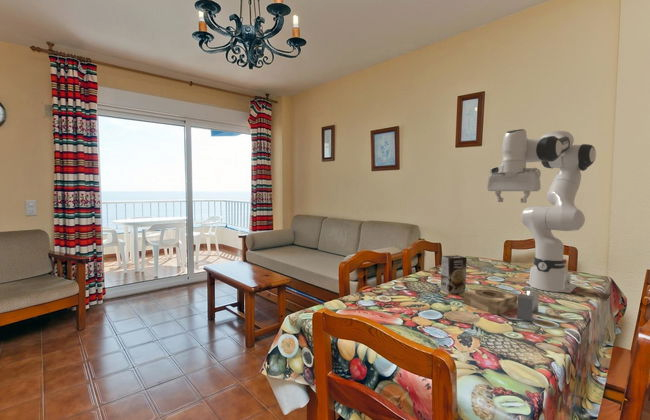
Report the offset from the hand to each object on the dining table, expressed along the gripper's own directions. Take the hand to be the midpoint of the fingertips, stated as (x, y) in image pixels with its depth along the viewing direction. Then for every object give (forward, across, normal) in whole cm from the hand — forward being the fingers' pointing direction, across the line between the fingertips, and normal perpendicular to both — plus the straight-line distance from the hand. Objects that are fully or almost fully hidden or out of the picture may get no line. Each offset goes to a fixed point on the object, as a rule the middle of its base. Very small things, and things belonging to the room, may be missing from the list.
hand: (511, 202), depth 135 cm
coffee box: (+42, +20, +8) cm, 47 cm away
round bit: (+42, -12, +4) cm, 44 cm away
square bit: (+42, -14, +13) cm, 46 cm away
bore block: (+42, 0, +12) cm, 43 cm away
